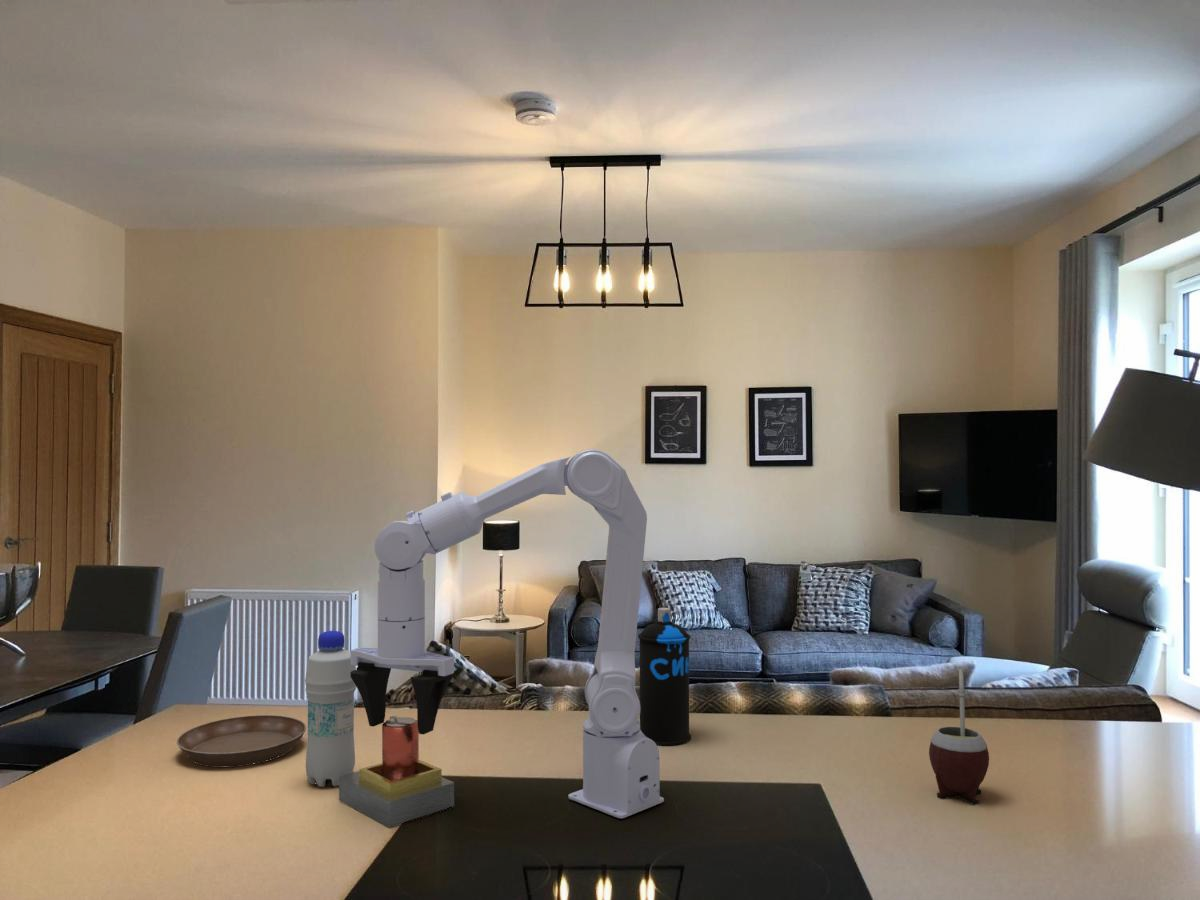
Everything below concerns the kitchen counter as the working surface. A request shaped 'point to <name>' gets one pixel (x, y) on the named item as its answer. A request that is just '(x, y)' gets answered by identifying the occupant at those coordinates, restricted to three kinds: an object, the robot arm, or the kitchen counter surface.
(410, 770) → the red metal cylinder
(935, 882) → the kitchen counter surface
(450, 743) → the kitchen counter surface
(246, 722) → the plant saucer
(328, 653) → the bottle
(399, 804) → the grey socket block
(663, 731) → the aerosol can
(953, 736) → the mate gourd
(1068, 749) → the kitchen counter surface
